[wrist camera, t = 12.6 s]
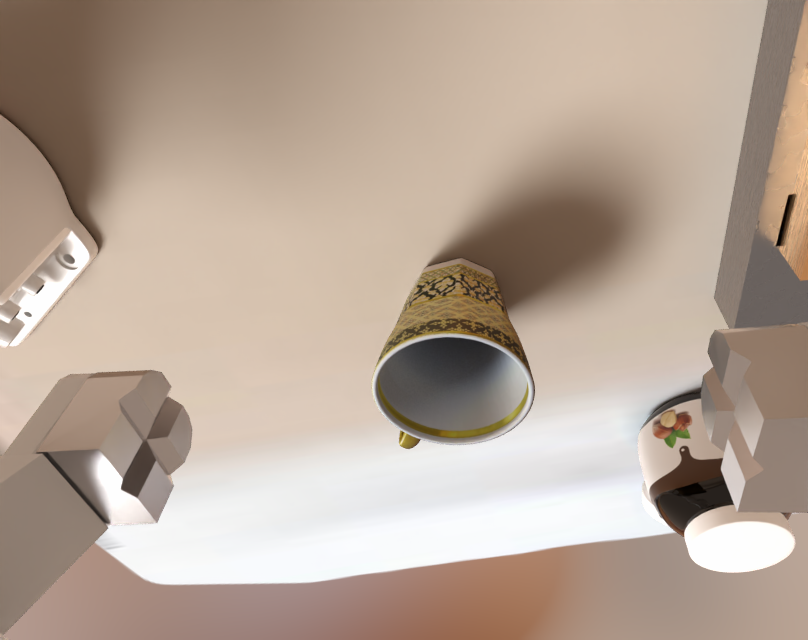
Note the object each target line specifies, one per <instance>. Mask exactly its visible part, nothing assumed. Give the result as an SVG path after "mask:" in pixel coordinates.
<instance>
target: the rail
mask: <svg viewBox="0 0 808 640" xmlns="http://www.w3.org/2000/svg"><path fill="white" fill-rule="evenodd" d="M807 136H808V0H768V6H767V11H766V17H765V22H764V28H763V33H762V39H761V44H760V50H759V55H758V61H757V66H756V71H755V77H754V82H753V88H752V93H751V99H750V104H749V110H748V115H747V121H746V126H745V132H744V137H743V143H742V148H741V154H740V159H739V165H738V170H737V176H736V181H735V187H734V192H733V198H732V203H731V209H730V214H729V220H728V225H727V230H726V236H725V241H724V247H723V252H722V258H721V263H720V269H719V274H718V280H717V285H716V291H715V296H714V299H715V301H716V303H717V305H718V307H719V309H720V311H721V313H722V315H723V317H724V319H725V321H726V323H727V325H728V327H729V329H735V328H747V327H760V326H773V325H786V324H798V323H805V322H808V280H802V281H800V280H799V278H798V277H797V275H796V274H795V272H794V271H793V269H792V268H791V267H790V265H789V264H788V262H787V261H786V259H785V258H784V256H783V255H782V254H781V252H780V251H779V249H780V245H781V241H782V237H783V233H784V230H783V229H782V228H781V222H782V218H783V214H784V210H785V206H786V202H787V198H788V195H790V194H793V193H794V189H795V185H796V181H797V176H798V172H799V168H800V164H801V160H802V156H803V152H804V148H805V144H806V140H807Z"/></svg>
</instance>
